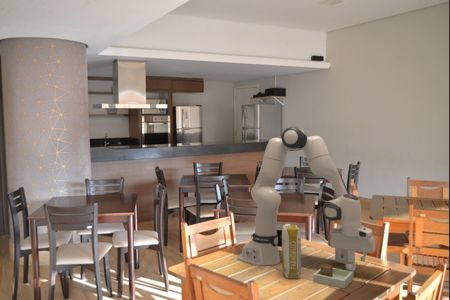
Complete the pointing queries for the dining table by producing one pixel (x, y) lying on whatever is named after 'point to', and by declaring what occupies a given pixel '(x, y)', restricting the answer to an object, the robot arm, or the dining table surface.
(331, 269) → the walnut block
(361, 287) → the dining table surface
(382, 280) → the dining table surface
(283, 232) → the juice carton
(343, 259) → the milk carton
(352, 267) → the aluminium bushing
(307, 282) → the dining table surface
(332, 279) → the tray
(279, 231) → the coffee mug
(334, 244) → the robot arm
